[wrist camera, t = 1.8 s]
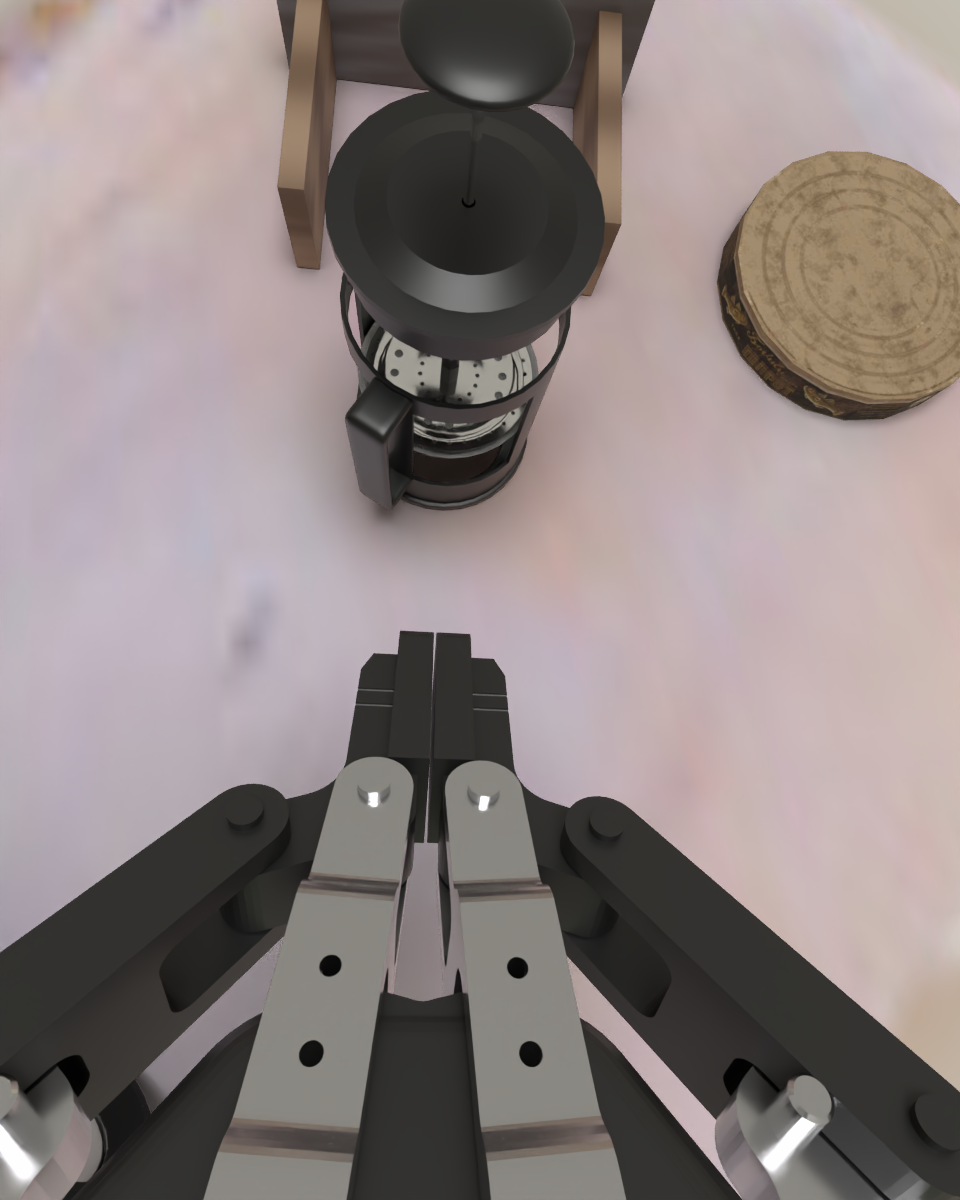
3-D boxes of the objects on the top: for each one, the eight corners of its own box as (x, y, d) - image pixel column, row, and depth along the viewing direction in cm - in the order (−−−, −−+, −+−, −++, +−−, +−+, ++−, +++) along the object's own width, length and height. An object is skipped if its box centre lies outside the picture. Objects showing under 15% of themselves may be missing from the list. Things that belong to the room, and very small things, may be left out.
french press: (426, 312, 40) (448, -228, 17) (563, 402, 40) (767, -22, 17) (304, 472, 37) (144, 91, 15) (450, 568, 37) (512, 331, 15)
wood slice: (665, 252, 42) (684, 217, 39) (861, 151, 45) (893, 111, 42) (813, 469, 41) (845, 449, 38) (1007, 350, 44) (1050, 323, 41)
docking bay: (615, 298, 41) (680, 164, 31) (270, 264, 39) (223, 111, 29) (616, 92, 44) (676, -91, 34) (292, 51, 42) (256, -154, 32)
